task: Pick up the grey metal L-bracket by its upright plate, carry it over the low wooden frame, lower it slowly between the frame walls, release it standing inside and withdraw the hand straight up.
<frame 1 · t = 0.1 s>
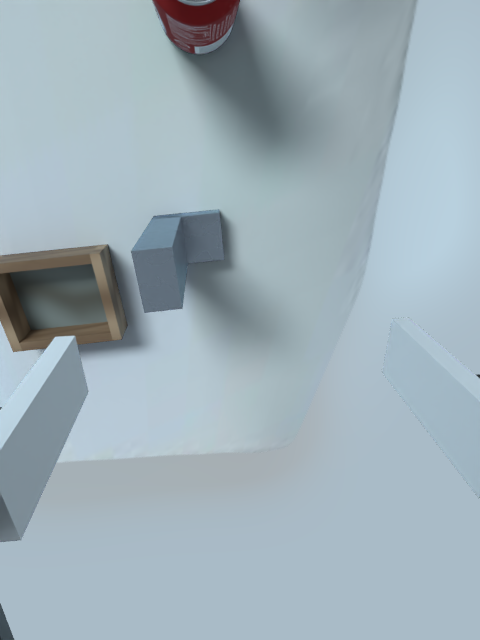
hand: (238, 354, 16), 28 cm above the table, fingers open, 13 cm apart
soda can: (196, 10, 33), on the table
bracket: (171, 237, 41), on the table
wooden frame: (65, 292, 42), on the table
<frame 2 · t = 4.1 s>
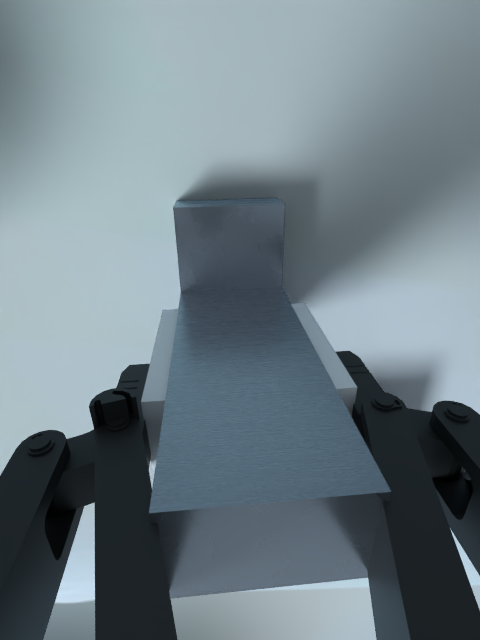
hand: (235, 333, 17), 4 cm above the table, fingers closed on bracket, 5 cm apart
bracket: (230, 301, 21), on the table, touching gripper
when the fingers open (5 cm above the table, at t = 10.8 s): bracket stays where it is, resting on wooden frame.
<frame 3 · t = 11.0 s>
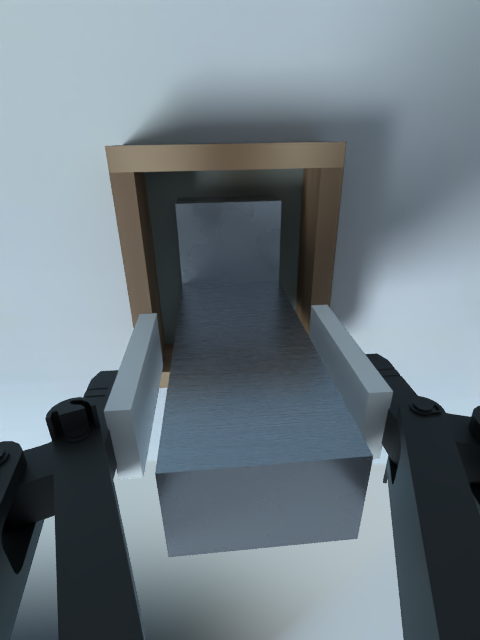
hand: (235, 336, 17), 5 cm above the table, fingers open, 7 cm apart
bracket: (229, 295, 22), resting on wooden frame
wooden frame: (227, 260, 21), on the table
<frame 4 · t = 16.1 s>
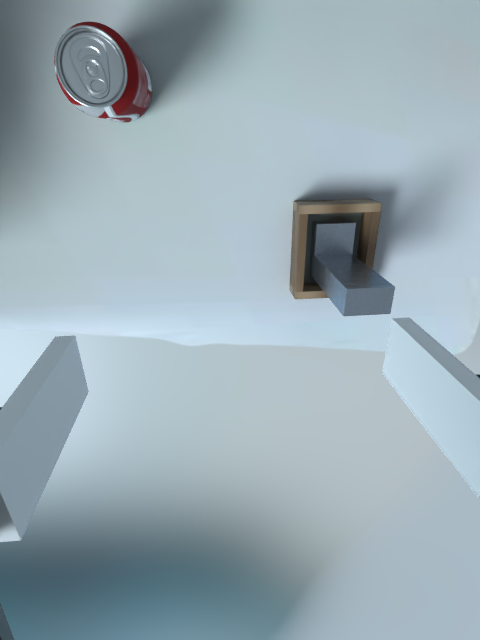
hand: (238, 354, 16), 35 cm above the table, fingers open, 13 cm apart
soda can: (121, 87, 40), on the table
bracket: (327, 261, 51), resting on wooden frame
wooden frame: (328, 246, 50), on the table
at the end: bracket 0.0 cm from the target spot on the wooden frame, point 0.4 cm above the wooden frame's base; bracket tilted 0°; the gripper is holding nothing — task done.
